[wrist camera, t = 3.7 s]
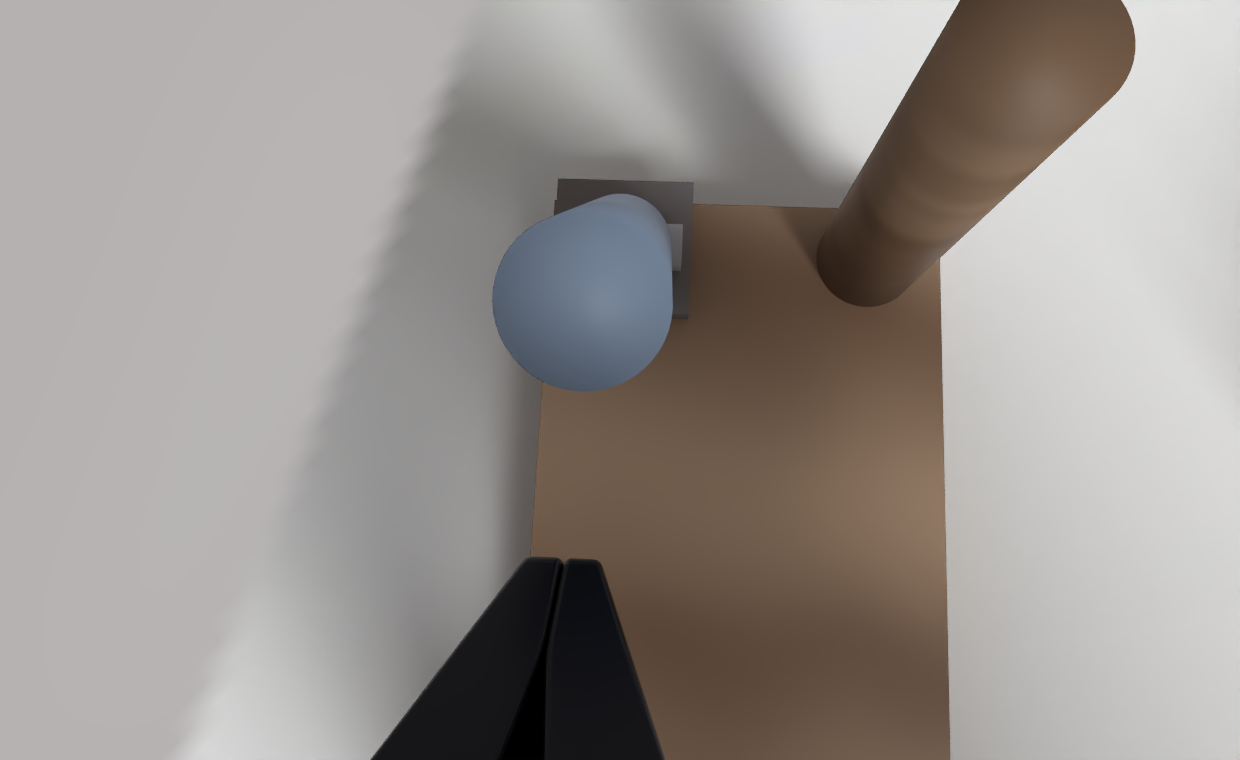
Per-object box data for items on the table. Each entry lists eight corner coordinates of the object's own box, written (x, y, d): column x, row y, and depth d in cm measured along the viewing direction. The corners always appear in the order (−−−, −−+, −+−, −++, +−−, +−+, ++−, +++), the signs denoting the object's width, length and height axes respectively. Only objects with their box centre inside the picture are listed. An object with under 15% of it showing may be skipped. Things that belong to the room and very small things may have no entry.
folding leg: (679, 294, 16) (686, 396, 9) (562, 291, 16) (475, 386, 9) (683, 194, 16) (695, 215, 8) (563, 191, 16) (472, 208, 9)
